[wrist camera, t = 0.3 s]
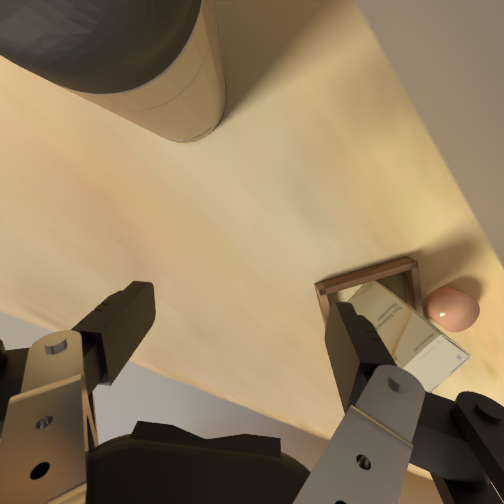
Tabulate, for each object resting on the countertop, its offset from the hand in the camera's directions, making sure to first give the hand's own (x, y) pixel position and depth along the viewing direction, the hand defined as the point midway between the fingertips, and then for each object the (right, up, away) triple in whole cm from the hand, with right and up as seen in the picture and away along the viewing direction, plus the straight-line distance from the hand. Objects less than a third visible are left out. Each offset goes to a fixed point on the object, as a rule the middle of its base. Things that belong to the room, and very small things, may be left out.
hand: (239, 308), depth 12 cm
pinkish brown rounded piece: (+26, -4, +23) cm, 35 cm away
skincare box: (+16, -4, +23) cm, 28 cm away
